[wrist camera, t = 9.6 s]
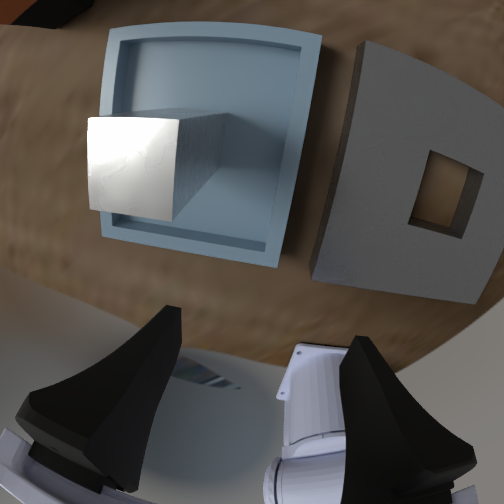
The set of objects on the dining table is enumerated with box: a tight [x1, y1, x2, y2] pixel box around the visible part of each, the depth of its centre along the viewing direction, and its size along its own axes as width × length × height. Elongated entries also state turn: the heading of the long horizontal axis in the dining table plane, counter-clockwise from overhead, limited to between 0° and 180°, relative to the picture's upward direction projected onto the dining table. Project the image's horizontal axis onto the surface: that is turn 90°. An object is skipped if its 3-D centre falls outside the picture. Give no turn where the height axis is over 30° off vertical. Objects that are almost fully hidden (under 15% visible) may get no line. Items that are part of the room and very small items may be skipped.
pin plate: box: [309, 40, 504, 304], centre depth 17 cm, size 16×16×2 cm
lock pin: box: [88, 108, 227, 222], centre depth 13 cm, size 4×4×9 cm
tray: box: [99, 22, 322, 268], centre depth 17 cm, size 15×13×2 cm
